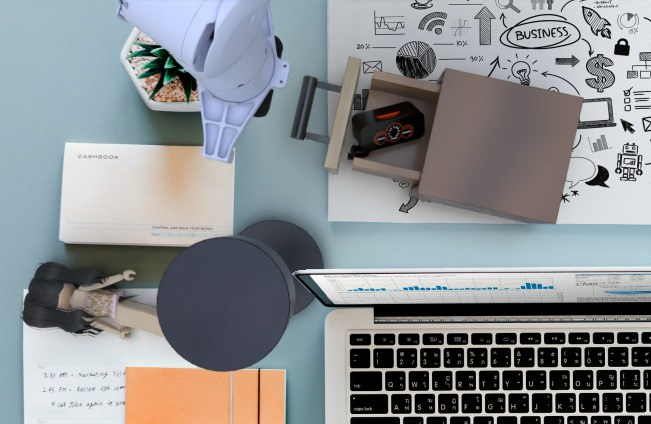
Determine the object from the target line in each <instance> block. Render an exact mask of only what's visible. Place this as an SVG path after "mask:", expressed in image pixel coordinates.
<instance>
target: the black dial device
mask: <svg viewBox="0 0 651 424" xmlns="http://www.w3.org/2000/svg"><path fill="white" fill-rule="evenodd" d="M350 123H351V133H352V138H353V139H354V140H355V141H356V143H357V144H359V145H357V144H351V146H350V148H349V152H347V155H346V156H347V157H346V158H347V159H346V160H347V161H353V160H354V157H357V158H365V157H367V156H369V154H370V152H371V151H374V150H378V149H382V148H386V147H389V146H393V145H397V144H401V143H405V142H408V141H412V140H416V139H420V138H421V137H423V135H424V134H425V118H424V114H423V113H422V112H421V111H420V110H419V109H418V108H417V107H416V106H414V105H413V104H412V103H411V102H409V101H405V102H401V103H397V104H393V105H389V106H385V107H381V108H377V109H373V110H369V111H365V110H364V111H362V112H357V113H355V114H353V115H351V117H350Z"/></svg>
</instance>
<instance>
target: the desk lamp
mask: <svg viewBox="0 0 651 424" xmlns="http://www.w3.org/2000/svg"><path fill="white" fill-rule="evenodd" d="M322 254H323V253H322V251H321V249H320V247H319V245H318V244H317V242H316V240H315V239H314V238H313V237H312V235H311V234H310V233H309V232H308V231H306V230H305V229H304V228H302V227H301V226H299V225H297V224H295V223H293V222H291V221H290V222H289V221H287V220H280V219H270V220H269V219H268V220H263V221H259V222H255V223H253V224H251V225H249V226H247V227H246V228H245V229H243V230H242V231H241V232H240V233H239V234H238V235H223V236H215V237H210V238H206V239H202V240H200V241H197V242H194V243H193V244H191V245H189V246H187V247H185V249H183V250H181V251H180V252H179V253H178V254H177V255H176V256H175V257H174V258H173V259H172V261H170V263H169V264H168V265H167V267H166V269H165V271H164V272H163V274H162V276H161V278H160V281H159V284H158V288H157V293H156V303H155V305H156V306H155V308H157V317H158V321H159V325H160V327H161V330H162V333H163V334H164V336H163V337H164V338H165V340H166V342H167V344H168V345H169V346H170V347H171V348H172V349H173V350H174V352H175V353H176V354H177V355H179V356H180V357H181V358H182V359H183V360H185V361H186V362H188V363H189V364H191V365H193V366H195V367H198V368H200V369H204V370H207V371H211V372H218V373H228V372H236V371H240V370H245V369H247V368H249V367H253V366H254V365H256V364H257V363H259V362H261V361H263V359H265V358H266V357H267V356H268V355H270V353H271V352H272V351H273V350H274V349H275V348H276V347H277V346H278V344H279V343H280V341H281V339H282V338H283V336H284V335H285V333H286V331H287V329H288V328H289V325H290V324H291V320H292V319H293V317H294V316H295V315H297V314H300V313H301V312H302V311H304V310H305V309H306V308H307V307H309V306H310V305H311V303H312V302H313V301H314V300H315V298H316V297H315V296H314V295H313V294H312V293H310V292H309V291H308V290H307V289H306V288H305V287H304V286H303V285H302V284H301V283H300V282H299V281H298V280H297V279H296V278H295V277H294V276H293V275H292V273H293V272H295V271H298V270H306V269H325V266H324V259H323V255H322Z"/></svg>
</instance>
